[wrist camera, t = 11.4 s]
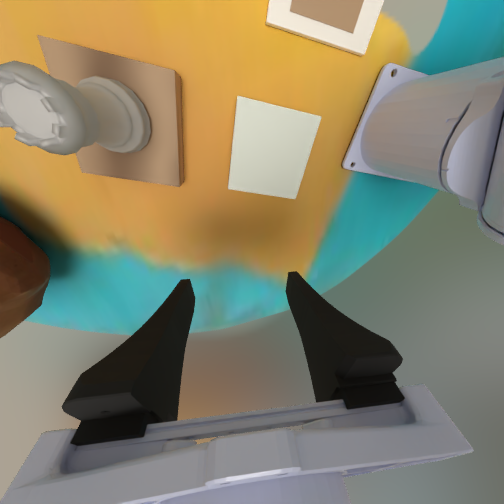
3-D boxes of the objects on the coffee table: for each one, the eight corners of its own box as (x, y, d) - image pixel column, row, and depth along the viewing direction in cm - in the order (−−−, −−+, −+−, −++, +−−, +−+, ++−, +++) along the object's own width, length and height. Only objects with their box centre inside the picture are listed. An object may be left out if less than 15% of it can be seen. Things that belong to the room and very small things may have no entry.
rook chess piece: (72, 78, 12) (-107, 24, 6) (141, 79, 13) (45, 28, 6) (104, 152, 15) (5, 173, 8) (160, 151, 15) (107, 170, 9)
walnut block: (180, 76, 14) (174, 70, 13) (184, 181, 19) (179, 187, 17) (61, 46, 13) (36, 34, 11) (96, 168, 17) (81, 172, 15)
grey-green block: (312, 117, 16) (321, 116, 15) (290, 193, 20) (295, 199, 19) (236, 98, 15) (237, 95, 14) (228, 183, 19) (228, 188, 17)
